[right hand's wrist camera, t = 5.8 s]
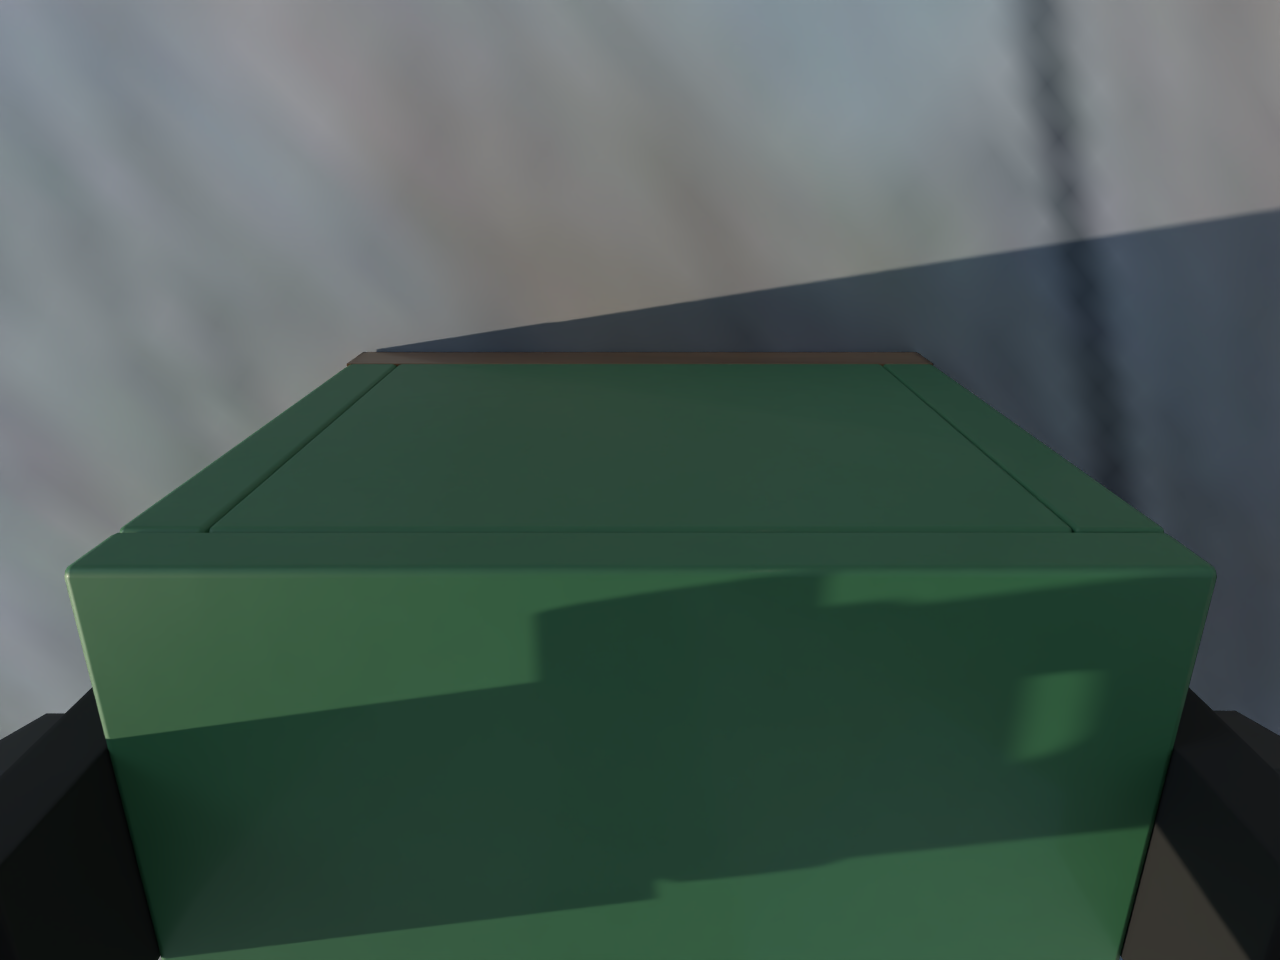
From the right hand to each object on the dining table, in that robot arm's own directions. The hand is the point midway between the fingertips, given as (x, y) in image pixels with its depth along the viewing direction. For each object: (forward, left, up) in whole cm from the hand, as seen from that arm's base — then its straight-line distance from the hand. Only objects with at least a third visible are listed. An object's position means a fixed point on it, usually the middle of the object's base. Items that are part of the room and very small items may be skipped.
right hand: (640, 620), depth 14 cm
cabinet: (+4, +4, -4) cm, 7 cm away
